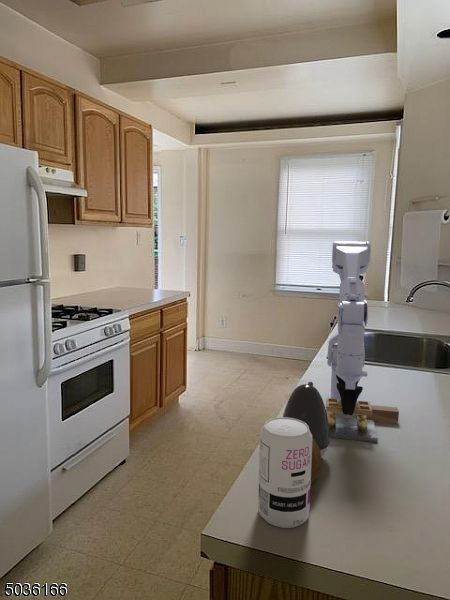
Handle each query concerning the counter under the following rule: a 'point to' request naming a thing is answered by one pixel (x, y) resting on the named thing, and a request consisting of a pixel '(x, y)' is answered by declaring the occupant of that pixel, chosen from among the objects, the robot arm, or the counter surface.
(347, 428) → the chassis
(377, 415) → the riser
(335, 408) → the wooden frame
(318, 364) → the counter surface
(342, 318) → the robot arm
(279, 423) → the supplement can
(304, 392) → the dark grey tall dome
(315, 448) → the potato
